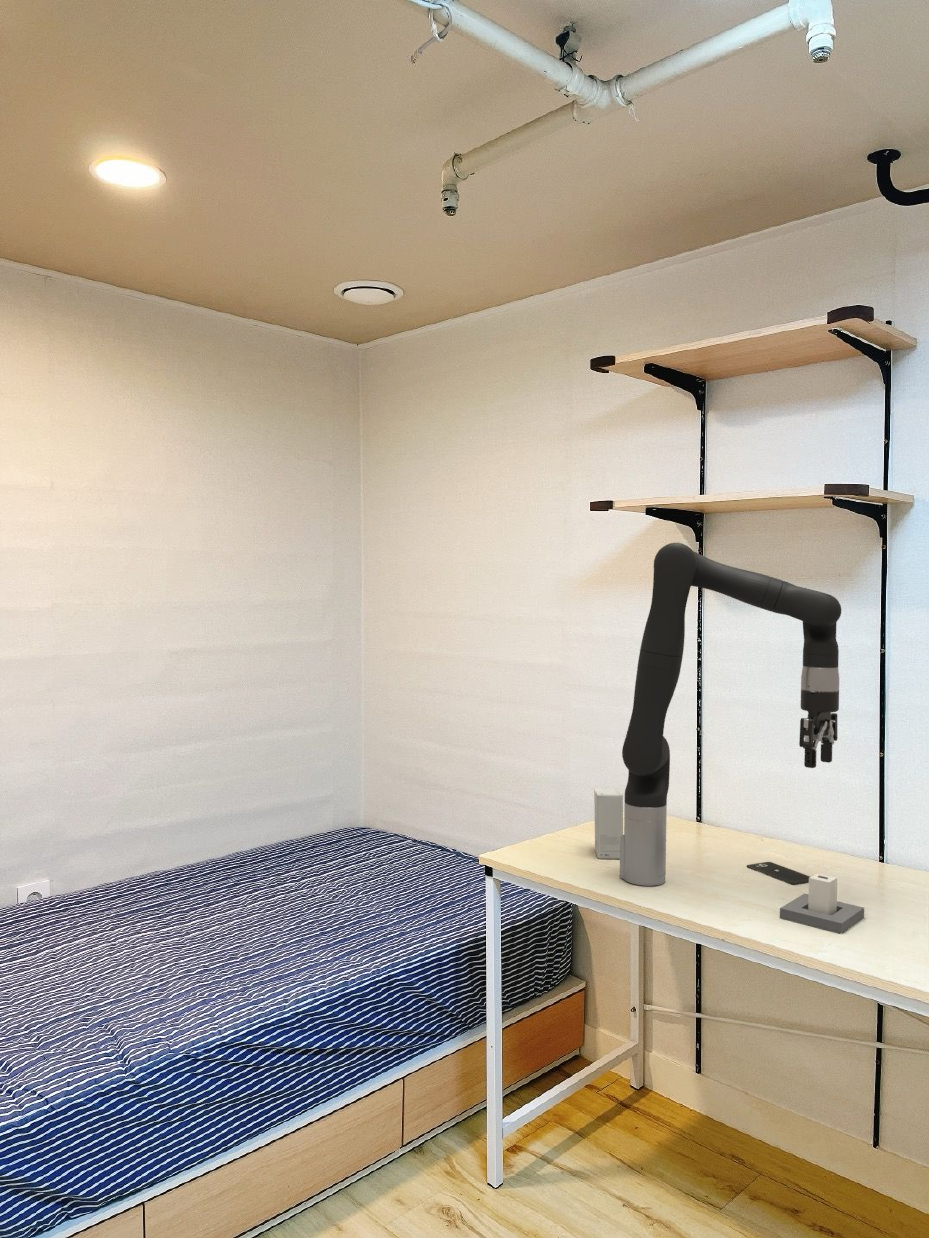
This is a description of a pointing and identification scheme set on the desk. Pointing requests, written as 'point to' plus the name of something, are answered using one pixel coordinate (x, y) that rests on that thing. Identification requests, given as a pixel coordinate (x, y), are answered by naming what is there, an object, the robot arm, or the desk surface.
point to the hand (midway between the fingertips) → (818, 764)
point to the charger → (822, 894)
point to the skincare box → (608, 822)
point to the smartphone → (780, 873)
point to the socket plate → (822, 915)
